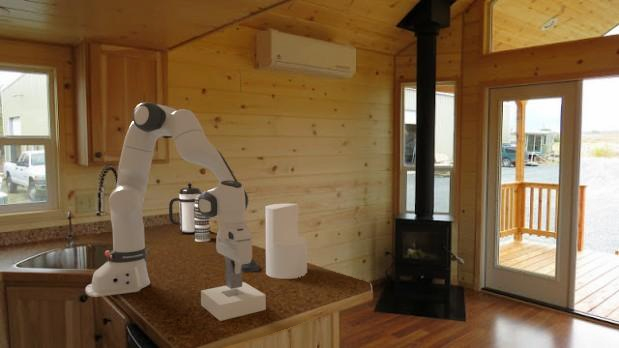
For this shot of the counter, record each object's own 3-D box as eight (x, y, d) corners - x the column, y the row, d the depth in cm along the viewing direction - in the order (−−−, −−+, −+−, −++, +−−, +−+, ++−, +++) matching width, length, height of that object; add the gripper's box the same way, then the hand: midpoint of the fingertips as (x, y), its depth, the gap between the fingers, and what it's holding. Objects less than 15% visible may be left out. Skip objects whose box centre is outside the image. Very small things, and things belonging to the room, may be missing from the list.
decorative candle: (196, 238, 251) (195, 194, 249) (213, 238, 250) (212, 194, 248) (191, 241, 242) (190, 196, 240) (208, 241, 241) (207, 196, 239)
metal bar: (231, 289, 144) (230, 259, 143) (226, 285, 147) (225, 256, 147) (242, 286, 146) (241, 257, 146) (237, 283, 150) (236, 254, 149)
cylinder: (257, 274, 183) (256, 207, 181) (282, 264, 198) (282, 202, 196) (291, 281, 174) (290, 211, 172) (314, 270, 188) (314, 205, 186)
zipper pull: (239, 243, 211) (261, 254, 189) (239, 256, 211) (261, 269, 190) (221, 245, 206) (242, 257, 185) (221, 259, 206) (242, 273, 185)
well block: (220, 321, 136) (219, 305, 136) (201, 305, 149) (200, 290, 149) (265, 309, 145) (265, 294, 145) (244, 295, 158) (243, 281, 158)
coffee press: (196, 228, 276) (195, 181, 274) (207, 233, 264) (206, 183, 262) (169, 232, 265) (167, 183, 263) (180, 237, 253) (178, 185, 251)
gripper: (211, 226, 152) (212, 265, 153) (237, 236, 135) (238, 280, 136) (228, 224, 156) (229, 262, 157) (255, 234, 139) (256, 277, 140)
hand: (233, 271), depth 146 cm, fingers closed on metal bar, 4 cm apart
